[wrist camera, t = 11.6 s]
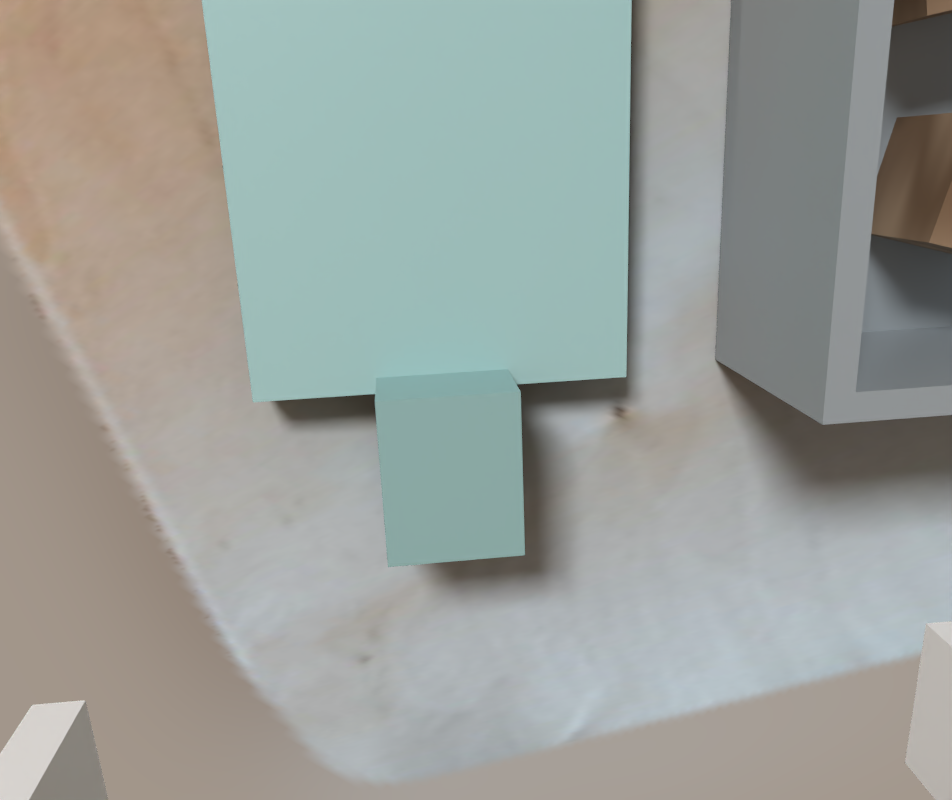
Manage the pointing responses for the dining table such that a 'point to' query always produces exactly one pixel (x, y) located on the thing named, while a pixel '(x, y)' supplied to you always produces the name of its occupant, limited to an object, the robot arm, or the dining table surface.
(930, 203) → the block
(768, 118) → the tub
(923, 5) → the block
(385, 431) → the lid
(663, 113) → the dining table surface
